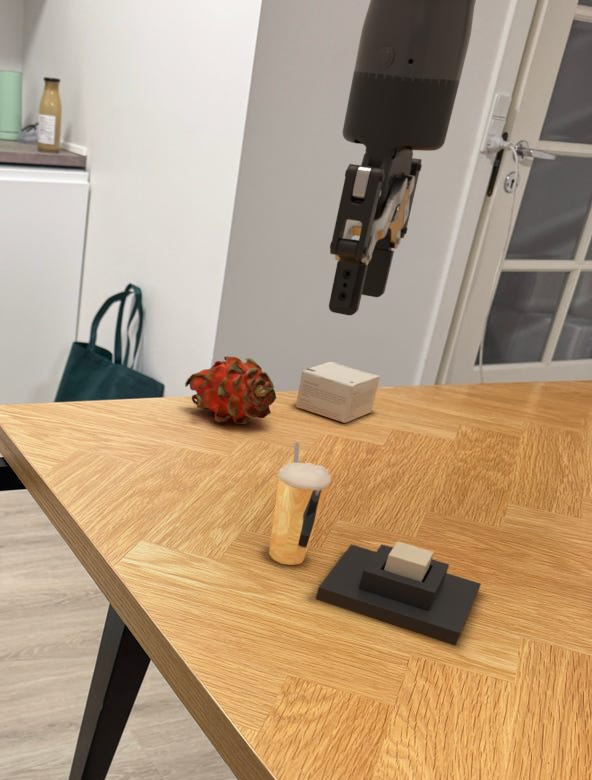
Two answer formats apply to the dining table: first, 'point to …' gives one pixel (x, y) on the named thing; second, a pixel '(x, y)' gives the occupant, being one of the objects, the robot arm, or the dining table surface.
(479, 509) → the dining table surface
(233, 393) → the dragon fruit
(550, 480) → the dining table surface
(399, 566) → the beige square block
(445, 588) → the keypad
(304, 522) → the milkshake
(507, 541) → the dining table surface
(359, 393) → the small box
